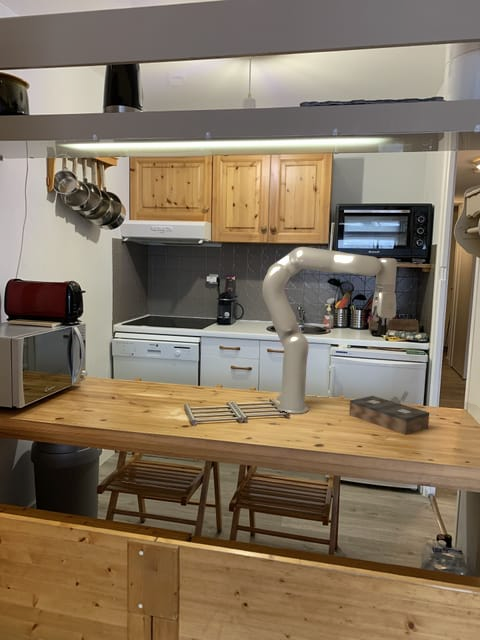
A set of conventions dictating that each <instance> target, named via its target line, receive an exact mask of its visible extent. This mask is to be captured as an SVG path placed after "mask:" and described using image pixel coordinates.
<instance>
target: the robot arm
mask: <svg viewBox="0 0 480 640" xmlns="http://www.w3.org/2000/svg"><path fill="white" fill-rule="evenodd" d="M397 265H398V261H397V259H396V258H391V257H381V258H377V257H375V256H373V255H372V256H371V255H370V256H369V255H363V254H356V253H347V252H343V251H336V250H333V249H332V250H330V249H322V248H314V247H307V246H298V247H296V248H294V249H293V250H292V251H290V252H289V253H288V254H286V255H285V256H283V257H282V258H281V259H278V261H276V262H275V263H273V264H272V265H270V266H269V268H268V270H267V273H266V275H265V277H264V280H263V282H262V289H261V291H262V295H263V300H264V302H265V304H266V306H267V309H268V312H269V315H270V317H271V323H272V325H273V328H274V329H275V332H276V334H277V337H278V338H279V340H280V343H281V345H282V347H283V357H282V358H283V359H282V360H283V361H282V379H281V394H279V395H278V396H276V400H277V401H279V403H278V404H277V406H276V409H277V410H278V411H280V412H282V411H285V412H287V413H286V414H304V413H307V412H308V411H309V406H307V405H306V404H305V400H306V383H307V382H306V379H307V365H308V355H309V348H310V347H309V342H308V339H307V338H306V336H305V335H304V334H303V332H302V330H301V328H300V326H299V323H298V322H297V318H296V314H295V312H294V311H293V308H292V307H291V305H290V302H289V301H288V298H287V296H286V293H285V286H286V284H287V282H288V281H289V280H290V279H291V277H293V276H295V275H296V274H297V273H299V272H300V271H301V270H302V269H304V270H311V271H319V272H326V273H335V274H336V273H337V274H340V273H341V274H351V275H352V274H353V275H354V274H355V275H361V276H365V277H366V276H367V277H375V286H374V288H375V289H374V294H373V299H372V305H371V316H372V317H373V318H372V321H374V322H376V324H377V331H376V332H377V333H376V334H377V335H379V336H387V333H388V332H387V329H388V325H389V322H390V321H391V320H393V318H395V317H396V315H397V295H396V293H395V291H396V279H397ZM285 412H284V413H285Z"/></svg>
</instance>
